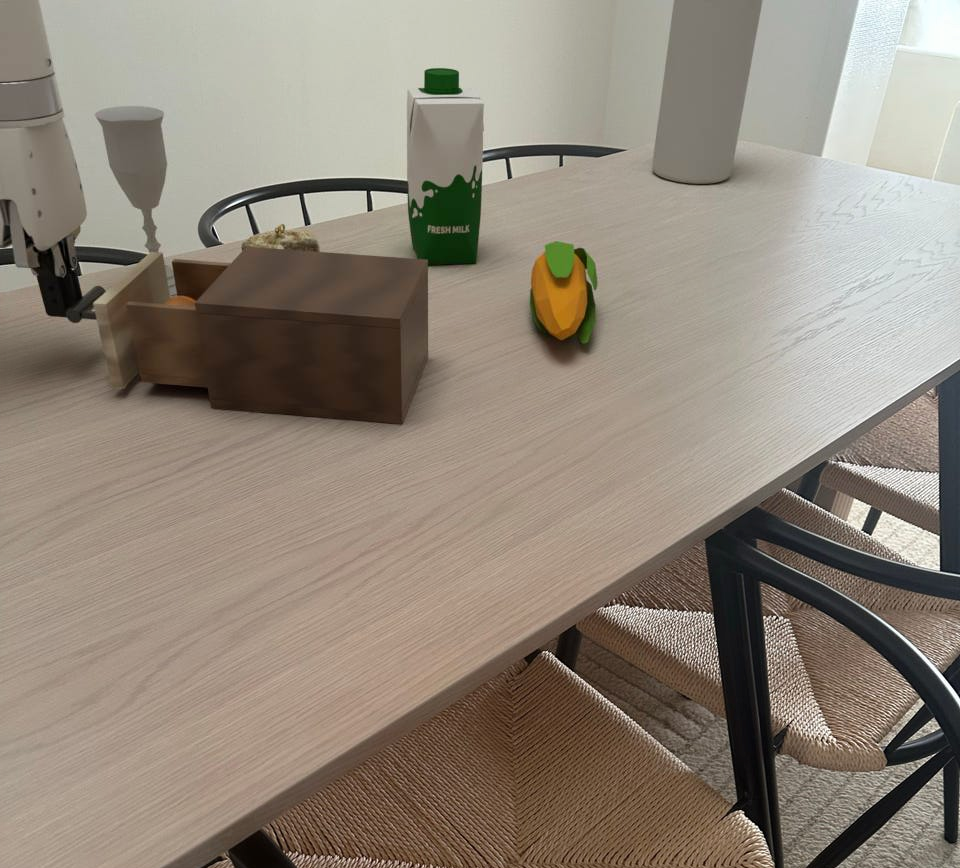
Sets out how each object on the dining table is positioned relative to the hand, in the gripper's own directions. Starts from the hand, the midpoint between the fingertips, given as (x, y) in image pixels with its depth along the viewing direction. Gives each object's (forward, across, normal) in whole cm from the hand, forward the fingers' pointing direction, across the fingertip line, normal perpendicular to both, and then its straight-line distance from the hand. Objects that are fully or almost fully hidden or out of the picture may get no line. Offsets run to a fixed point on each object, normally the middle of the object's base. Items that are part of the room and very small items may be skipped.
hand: (66, 313), depth 94 cm
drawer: (+4, 0, +12) cm, 13 cm away
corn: (+5, -18, +47) cm, 50 cm away
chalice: (+5, -20, +1) cm, 21 cm away
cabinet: (+5, 0, +25) cm, 25 cm away
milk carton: (+5, -38, +31) cm, 49 cm away
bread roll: (0, 0, +13) cm, 13 cm away
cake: (+5, -29, +13) cm, 32 cm away
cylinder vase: (+6, -84, +64) cm, 106 cm away
